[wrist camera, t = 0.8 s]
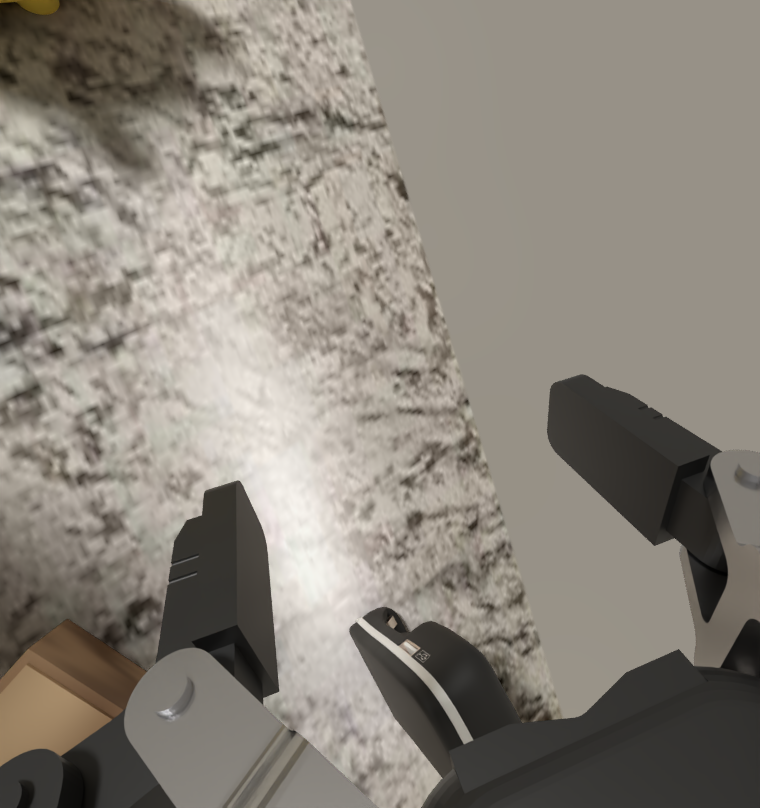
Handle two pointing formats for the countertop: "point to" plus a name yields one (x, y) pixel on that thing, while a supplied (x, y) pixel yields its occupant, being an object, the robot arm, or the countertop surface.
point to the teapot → (37, 5)
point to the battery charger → (432, 683)
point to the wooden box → (62, 692)
